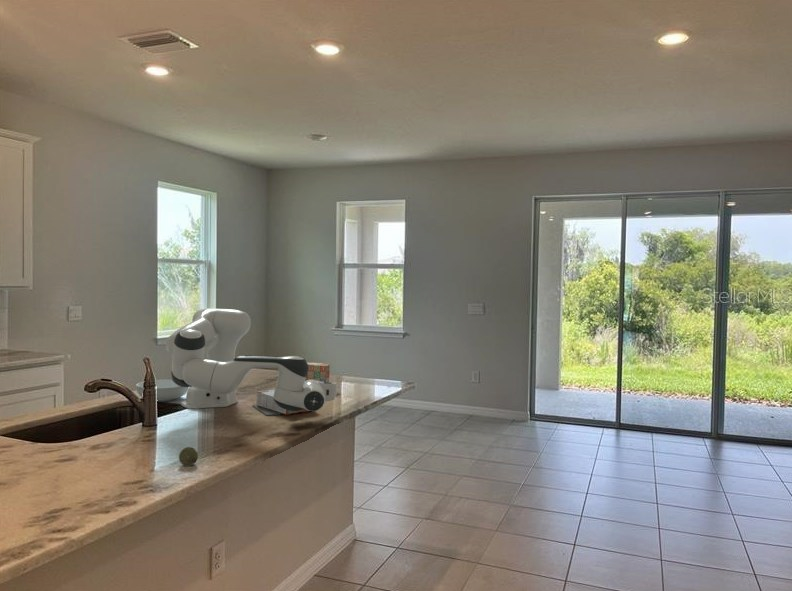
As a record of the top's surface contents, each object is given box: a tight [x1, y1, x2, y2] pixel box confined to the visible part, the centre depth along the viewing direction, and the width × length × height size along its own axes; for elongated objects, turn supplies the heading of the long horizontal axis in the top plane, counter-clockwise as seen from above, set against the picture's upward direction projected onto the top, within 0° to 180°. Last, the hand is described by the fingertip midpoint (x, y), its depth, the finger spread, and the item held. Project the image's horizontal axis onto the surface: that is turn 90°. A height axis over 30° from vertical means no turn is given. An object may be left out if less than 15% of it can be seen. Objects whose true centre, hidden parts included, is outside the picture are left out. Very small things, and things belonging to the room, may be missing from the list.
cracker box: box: [255, 388, 308, 415], centre depth 236 cm, size 14×6×21 cm
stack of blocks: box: [305, 362, 331, 382], centre depth 279 cm, size 21×6×12 cm, turn 83°
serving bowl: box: [135, 378, 189, 403], centre depth 247 cm, size 21×21×7 cm
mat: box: [252, 404, 309, 417], centre depth 237 cm, size 20×18×1 cm
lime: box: [178, 446, 199, 467], centre depth 166 cm, size 4×5×5 cm
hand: (309, 384), depth 231 cm, fingers open, 8 cm apart
